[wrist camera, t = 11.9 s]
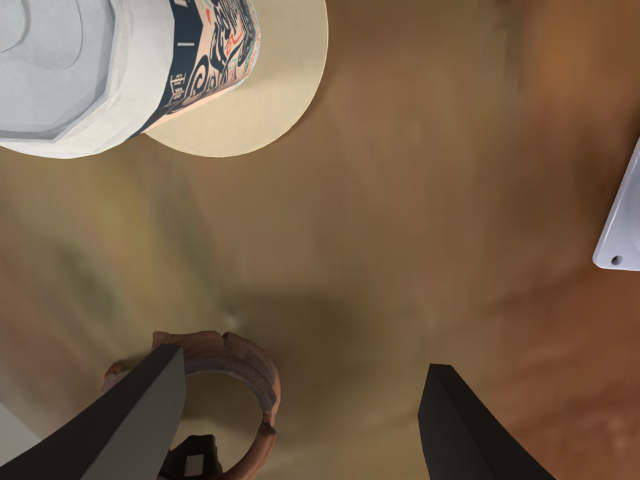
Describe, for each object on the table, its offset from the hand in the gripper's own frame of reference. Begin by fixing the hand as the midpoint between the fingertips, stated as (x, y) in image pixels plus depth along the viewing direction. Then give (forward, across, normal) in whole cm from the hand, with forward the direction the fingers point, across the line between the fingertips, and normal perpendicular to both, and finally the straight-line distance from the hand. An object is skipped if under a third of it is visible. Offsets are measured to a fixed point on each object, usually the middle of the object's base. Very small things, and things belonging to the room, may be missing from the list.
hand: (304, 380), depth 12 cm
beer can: (+10, +5, -9) cm, 14 cm away
